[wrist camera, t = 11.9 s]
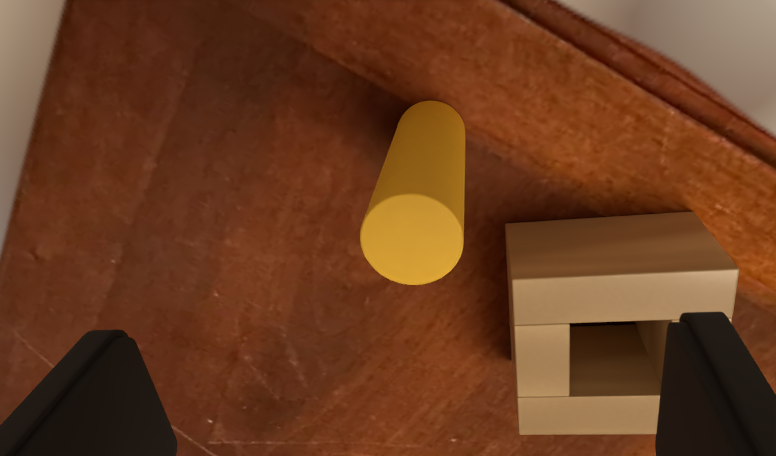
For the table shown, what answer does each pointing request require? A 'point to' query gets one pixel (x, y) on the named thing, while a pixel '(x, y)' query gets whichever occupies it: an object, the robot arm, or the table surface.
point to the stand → (604, 315)
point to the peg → (419, 198)
